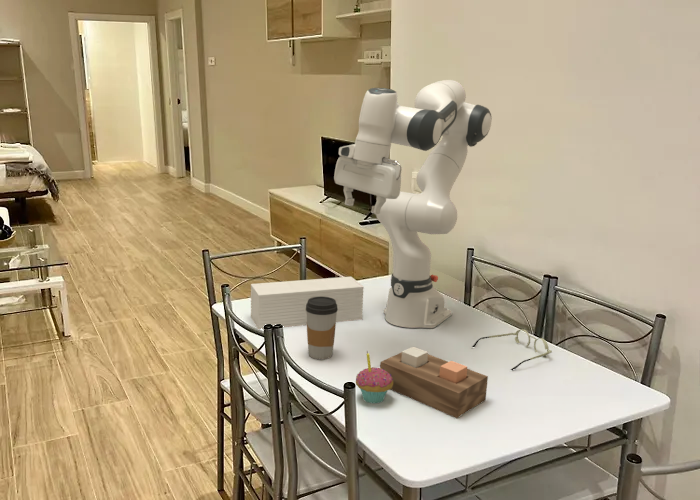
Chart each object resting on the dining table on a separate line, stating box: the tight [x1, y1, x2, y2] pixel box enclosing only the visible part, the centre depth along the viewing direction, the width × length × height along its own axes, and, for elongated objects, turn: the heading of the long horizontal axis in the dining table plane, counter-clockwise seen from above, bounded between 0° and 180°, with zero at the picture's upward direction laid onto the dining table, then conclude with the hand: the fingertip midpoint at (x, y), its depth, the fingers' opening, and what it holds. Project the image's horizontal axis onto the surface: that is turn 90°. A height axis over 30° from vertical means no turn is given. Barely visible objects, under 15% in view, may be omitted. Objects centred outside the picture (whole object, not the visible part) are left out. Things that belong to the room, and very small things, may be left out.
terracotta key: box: [439, 360, 468, 384], centre depth 148 cm, size 4×4×4 cm
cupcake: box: [355, 350, 393, 404], centre depth 147 cm, size 9×8×12 cm
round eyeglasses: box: [471, 328, 553, 371], centre depth 176 cm, size 17×15×5 cm
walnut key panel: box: [379, 351, 489, 419], centre depth 152 cm, size 12×22×6 cm, turn 47°
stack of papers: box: [250, 276, 365, 330], centre depth 196 cm, size 32×11×11 cm, turn 110°
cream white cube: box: [401, 346, 429, 368], centre depth 155 cm, size 4×4×4 cm
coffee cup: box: [306, 297, 338, 360], centre depth 169 cm, size 8×8×15 cm
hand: (361, 209), depth 163 cm, fingers open, 8 cm apart
